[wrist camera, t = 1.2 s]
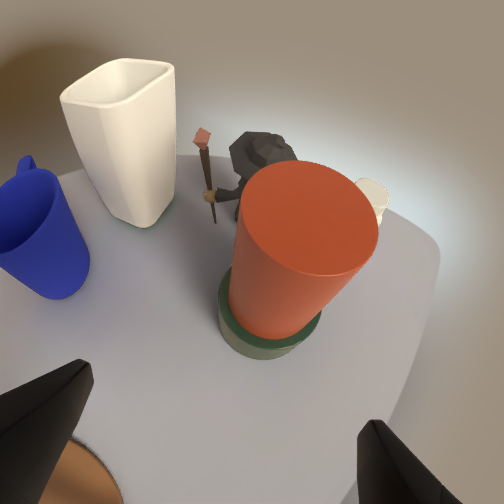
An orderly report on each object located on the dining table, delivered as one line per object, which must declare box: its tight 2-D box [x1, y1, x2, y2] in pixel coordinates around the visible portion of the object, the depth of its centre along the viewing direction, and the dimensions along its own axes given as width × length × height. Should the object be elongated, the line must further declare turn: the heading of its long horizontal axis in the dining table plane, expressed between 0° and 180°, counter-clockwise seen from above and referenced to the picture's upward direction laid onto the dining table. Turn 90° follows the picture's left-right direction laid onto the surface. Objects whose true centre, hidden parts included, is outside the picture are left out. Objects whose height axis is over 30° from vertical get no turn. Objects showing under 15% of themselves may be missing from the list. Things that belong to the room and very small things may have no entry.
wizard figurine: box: [193, 128, 298, 224], centre depth 24 cm, size 8×6×12 cm
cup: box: [60, 58, 176, 228], centre depth 22 cm, size 7×7×15 cm
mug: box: [0, 155, 90, 299], centre depth 20 cm, size 8×12×10 cm
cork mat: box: [38, 439, 123, 504], centre depth 13 cm, size 11×11×1 cm
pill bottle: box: [355, 178, 389, 227], centre depth 26 cm, size 4×4×8 cm
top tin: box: [228, 160, 378, 339], centre depth 16 cm, size 6×6×10 cm
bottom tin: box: [218, 266, 322, 360], centre depth 23 cm, size 8×8×4 cm
